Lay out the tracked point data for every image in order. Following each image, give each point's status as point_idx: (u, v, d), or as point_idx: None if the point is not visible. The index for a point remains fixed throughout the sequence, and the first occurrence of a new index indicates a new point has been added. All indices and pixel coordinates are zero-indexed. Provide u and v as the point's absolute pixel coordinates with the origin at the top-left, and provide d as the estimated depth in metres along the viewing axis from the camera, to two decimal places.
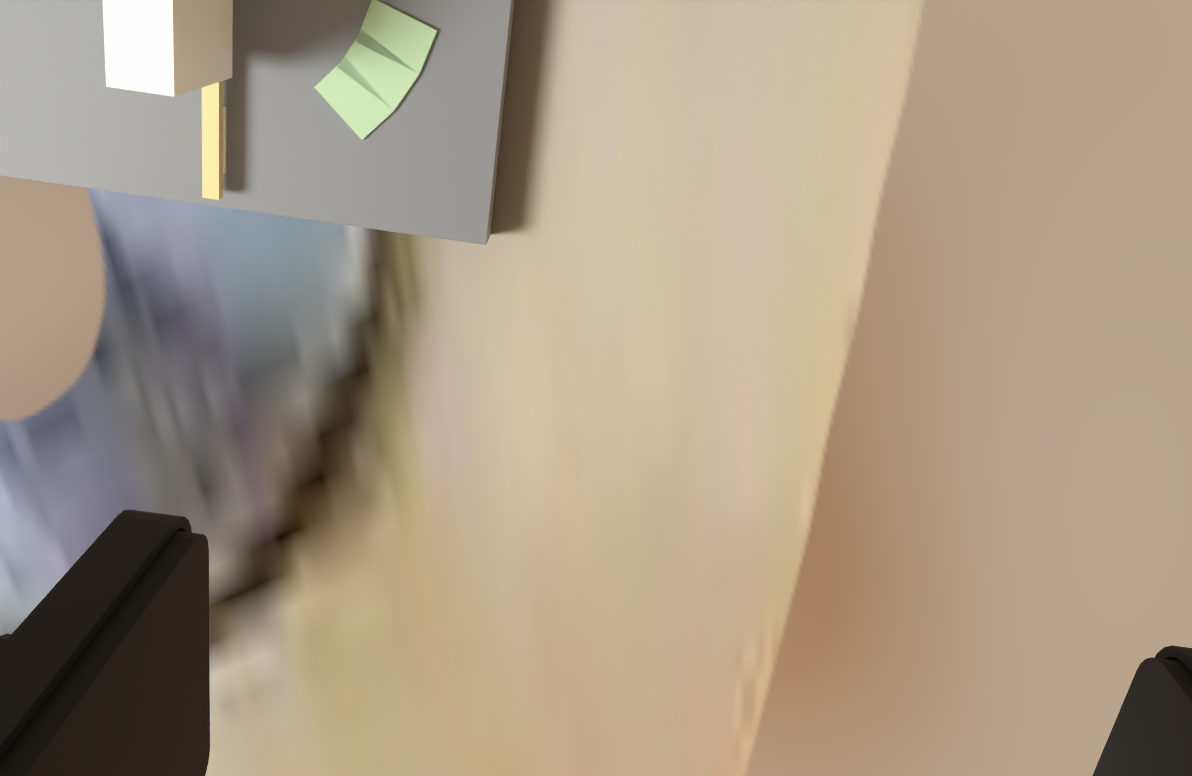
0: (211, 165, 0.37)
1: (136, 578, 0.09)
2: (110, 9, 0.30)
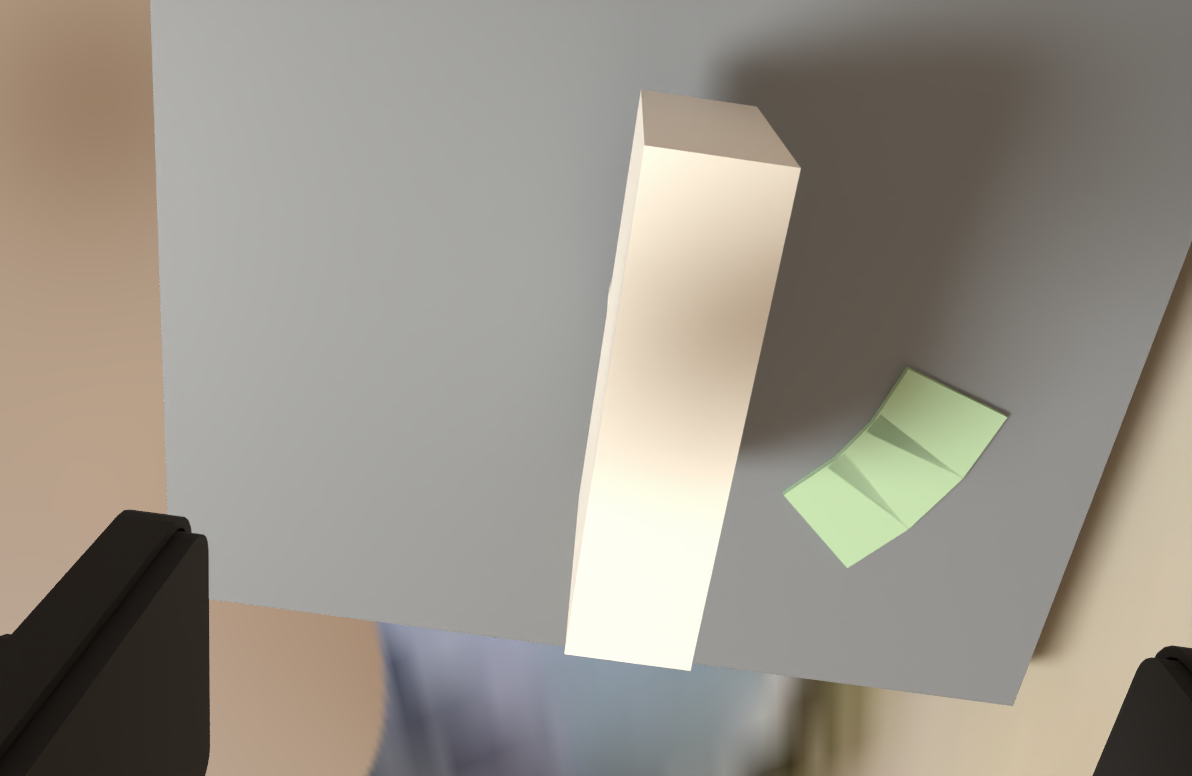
0: None
1: (136, 578, 0.09)
2: (597, 537, 0.15)
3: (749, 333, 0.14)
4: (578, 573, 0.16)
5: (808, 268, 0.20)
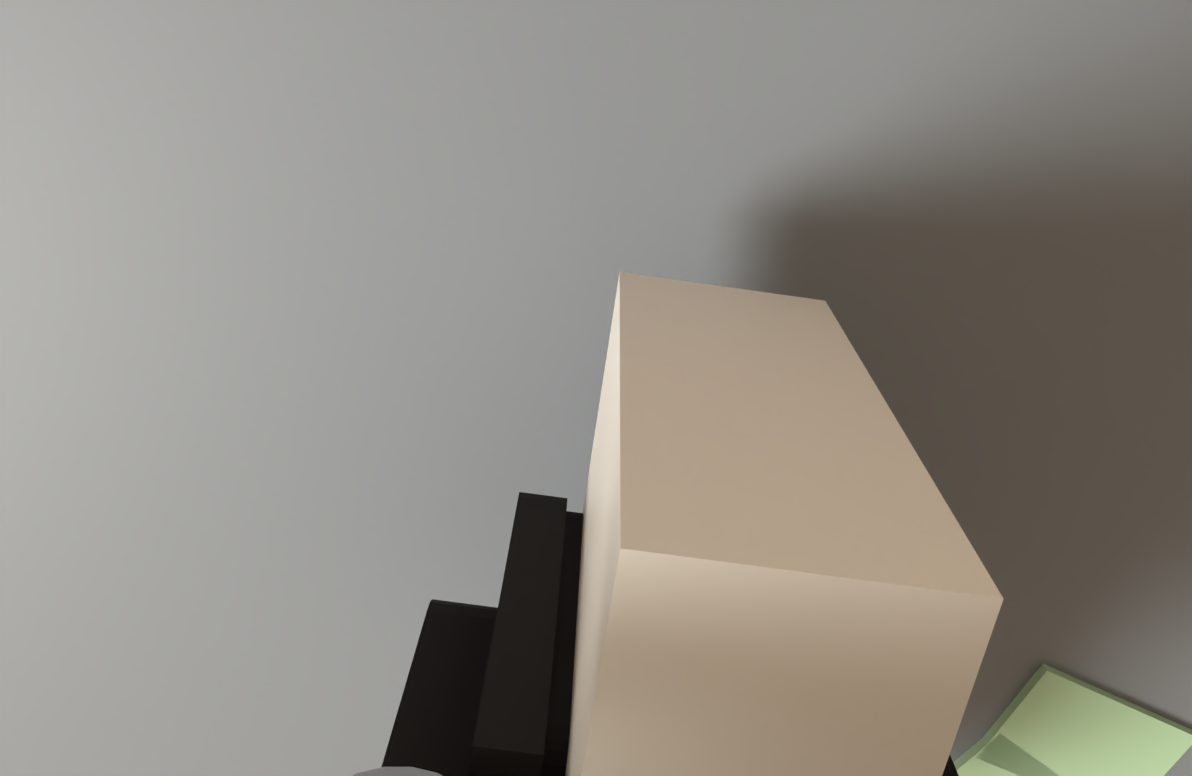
0: None
1: (563, 549, 0.10)
2: None
3: None
4: None
5: None
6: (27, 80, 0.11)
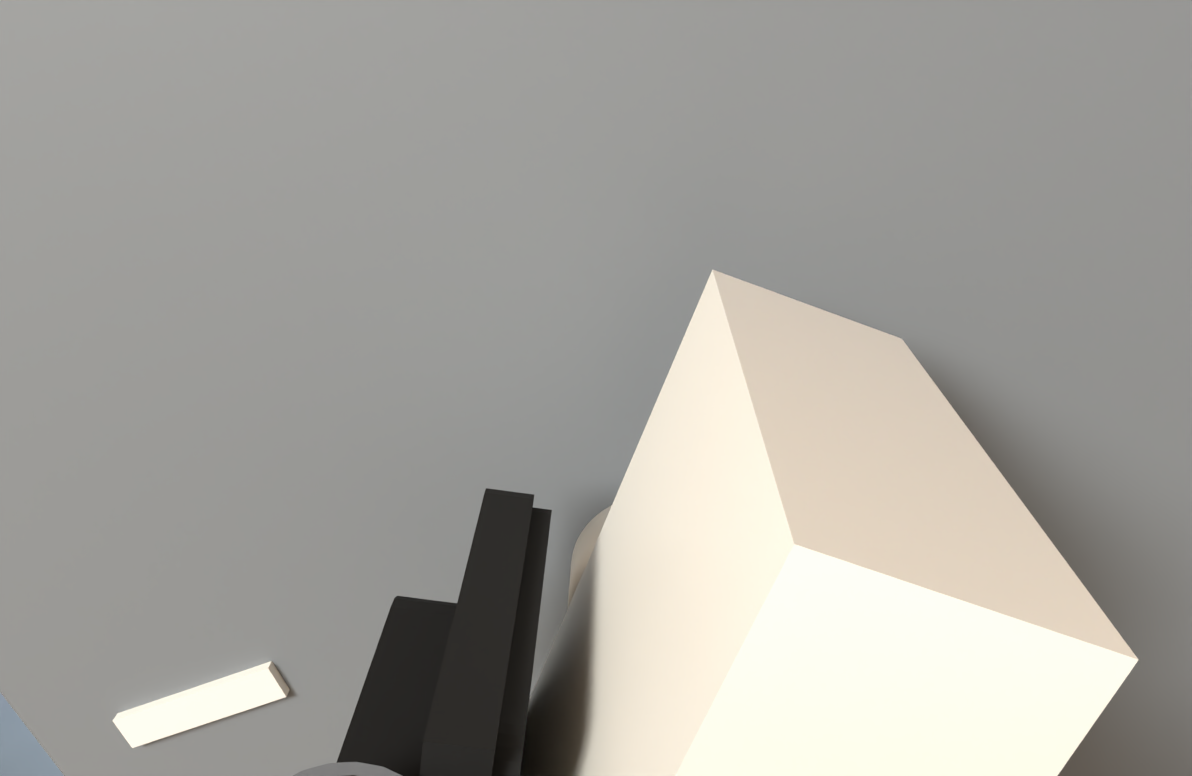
0: None
1: (527, 545, 0.10)
2: None
3: None
4: None
5: None
6: None
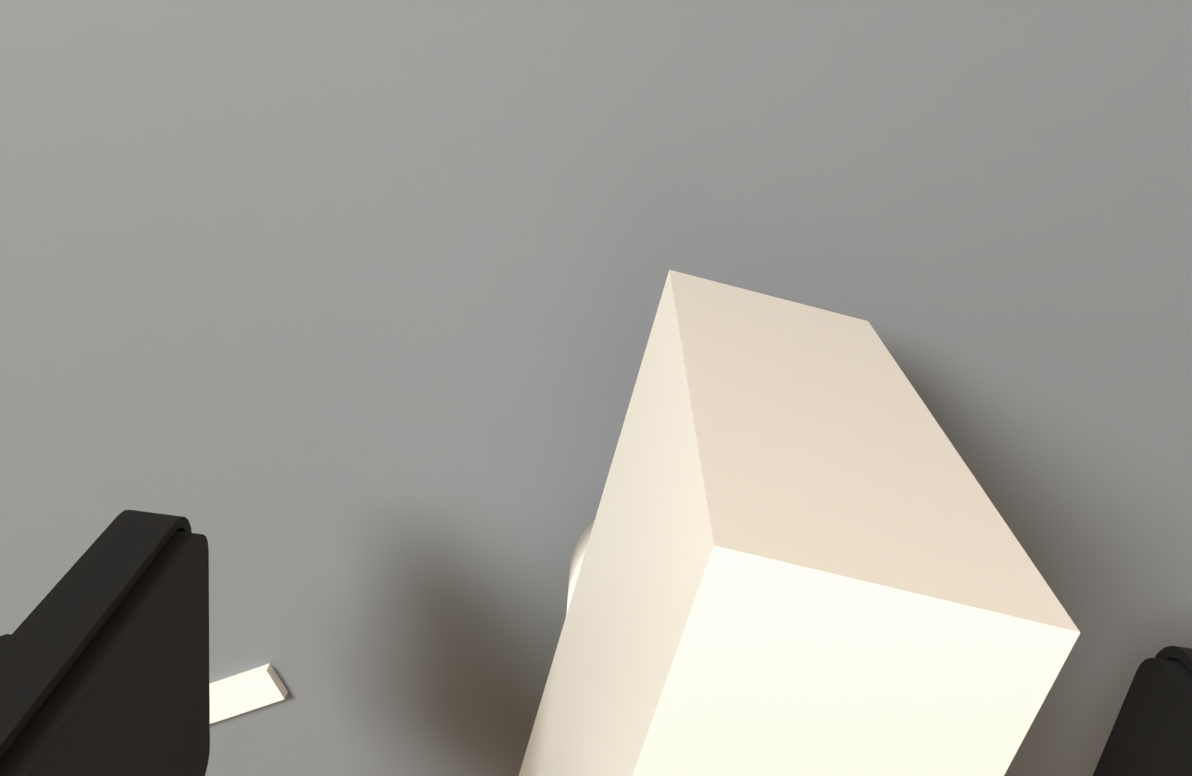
0: None
1: (136, 578, 0.09)
2: None
3: None
4: None
5: None
6: None
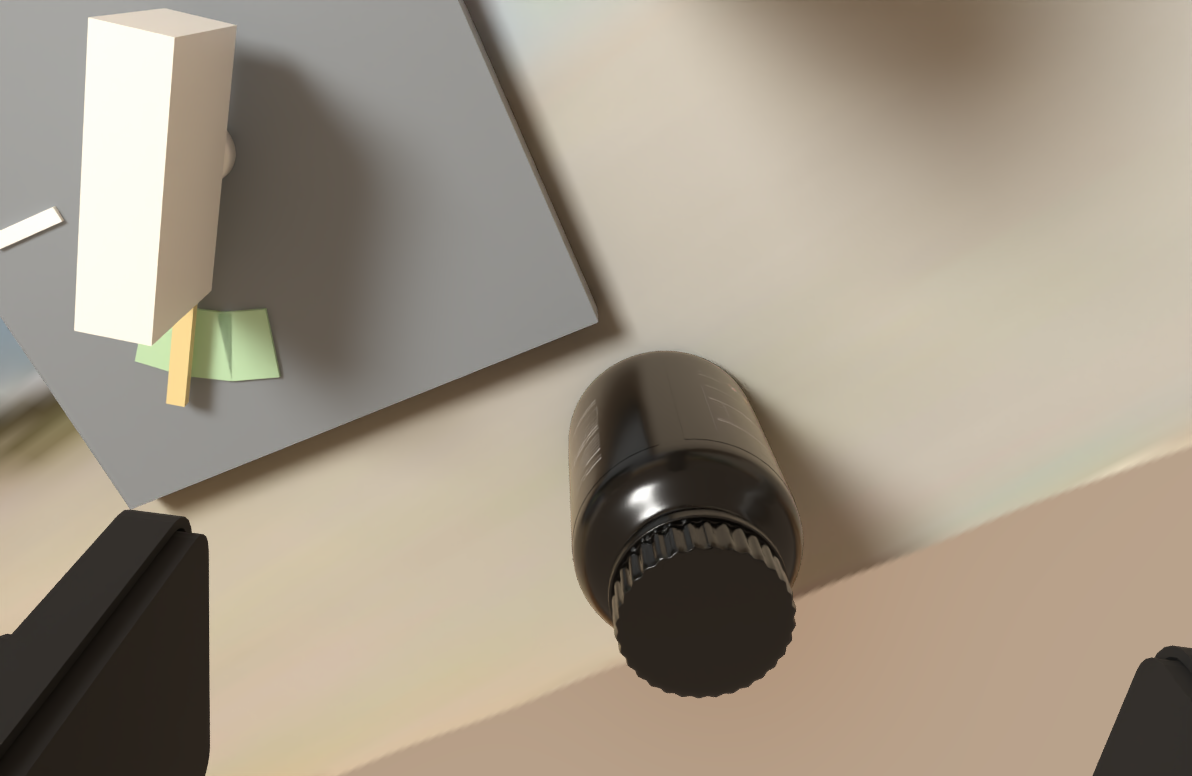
0: (179, 372, 0.34)
1: (136, 578, 0.09)
2: (86, 253, 0.27)
3: (159, 131, 0.25)
4: (77, 276, 0.27)
5: (276, 220, 0.33)
6: None
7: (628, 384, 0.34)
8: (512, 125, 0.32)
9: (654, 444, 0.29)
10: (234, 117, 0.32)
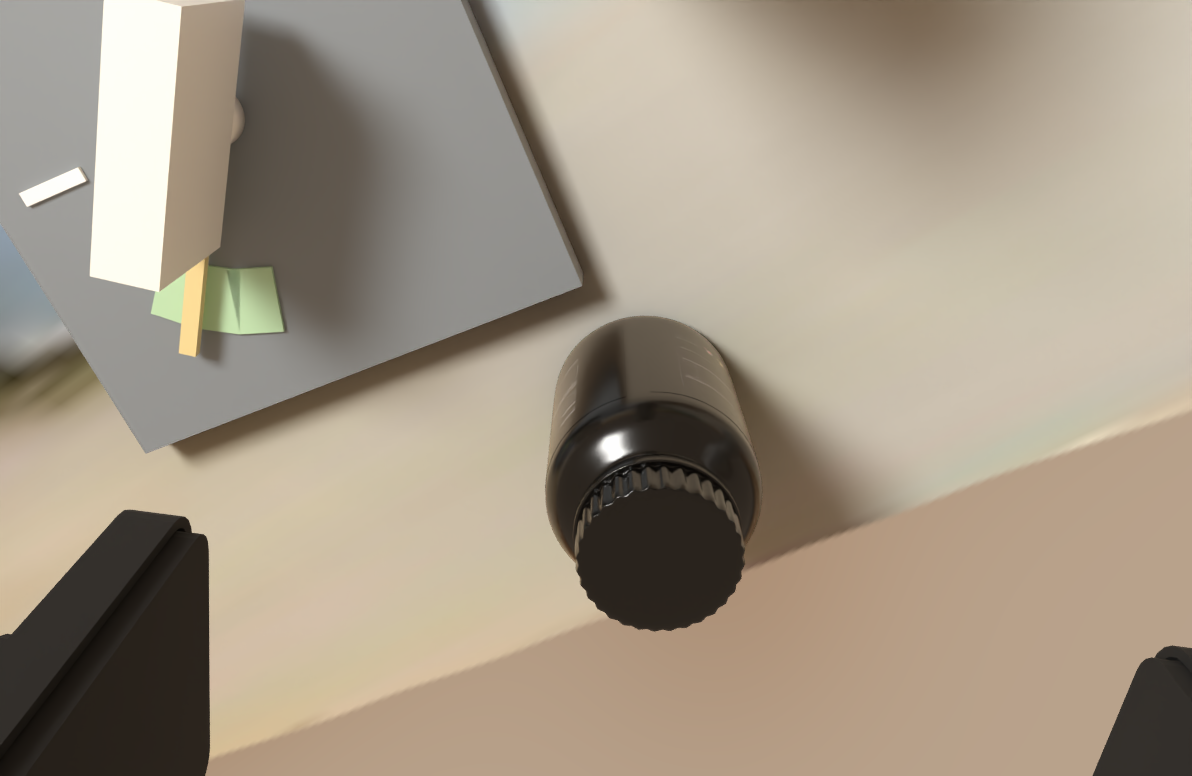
0: (190, 324, 0.36)
1: (136, 578, 0.09)
2: (101, 204, 0.29)
3: (167, 92, 0.28)
4: (93, 226, 0.29)
5: (282, 183, 0.35)
6: None
7: (607, 345, 0.36)
8: (501, 97, 0.34)
9: (622, 396, 0.31)
10: (244, 86, 0.34)
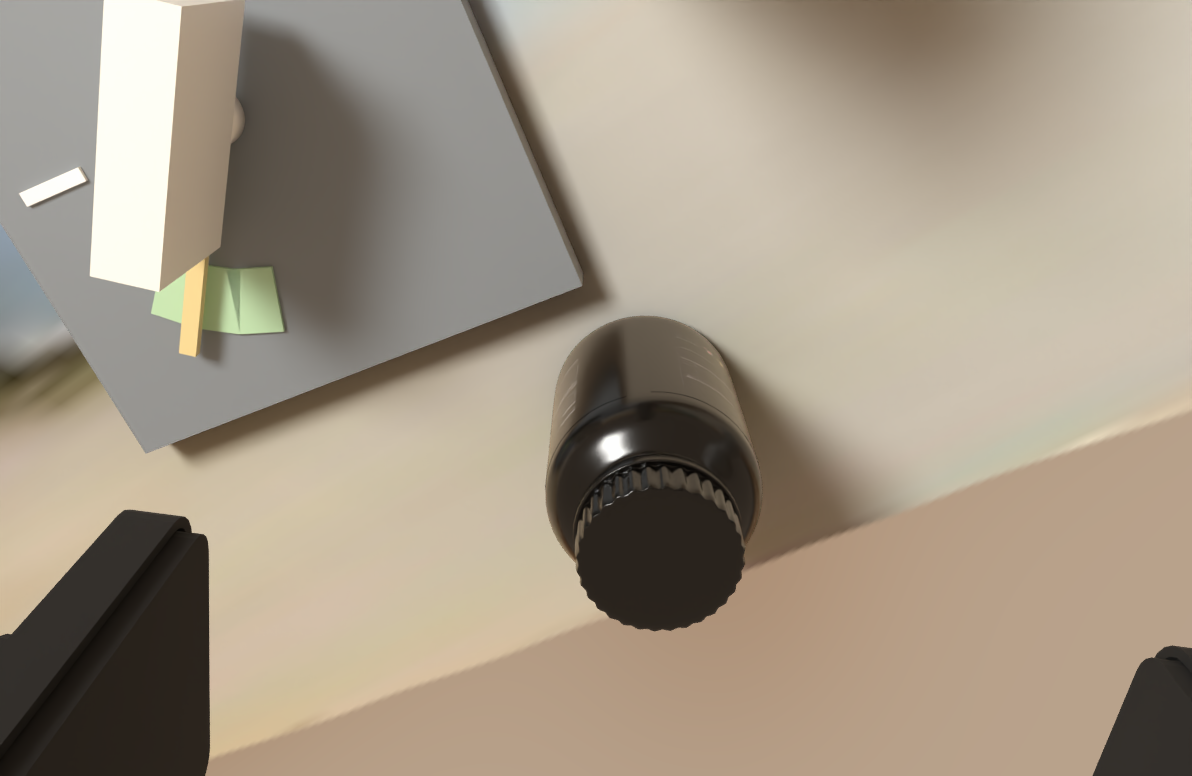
0: (191, 324, 0.37)
1: (136, 578, 0.09)
2: (101, 204, 0.29)
3: (167, 92, 0.28)
4: (93, 226, 0.29)
5: (282, 183, 0.35)
6: None
7: (607, 345, 0.36)
8: (502, 97, 0.34)
9: (622, 396, 0.31)
10: (244, 86, 0.34)
